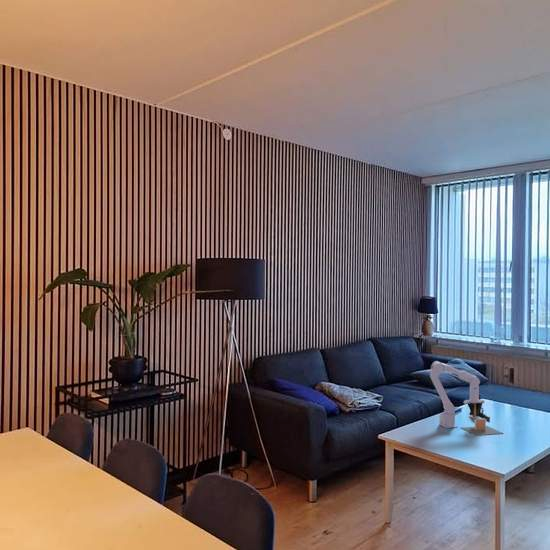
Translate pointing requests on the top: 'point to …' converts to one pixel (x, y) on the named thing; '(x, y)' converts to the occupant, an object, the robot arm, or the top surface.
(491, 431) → the mat
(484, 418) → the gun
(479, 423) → the tile
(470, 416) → the tamper
